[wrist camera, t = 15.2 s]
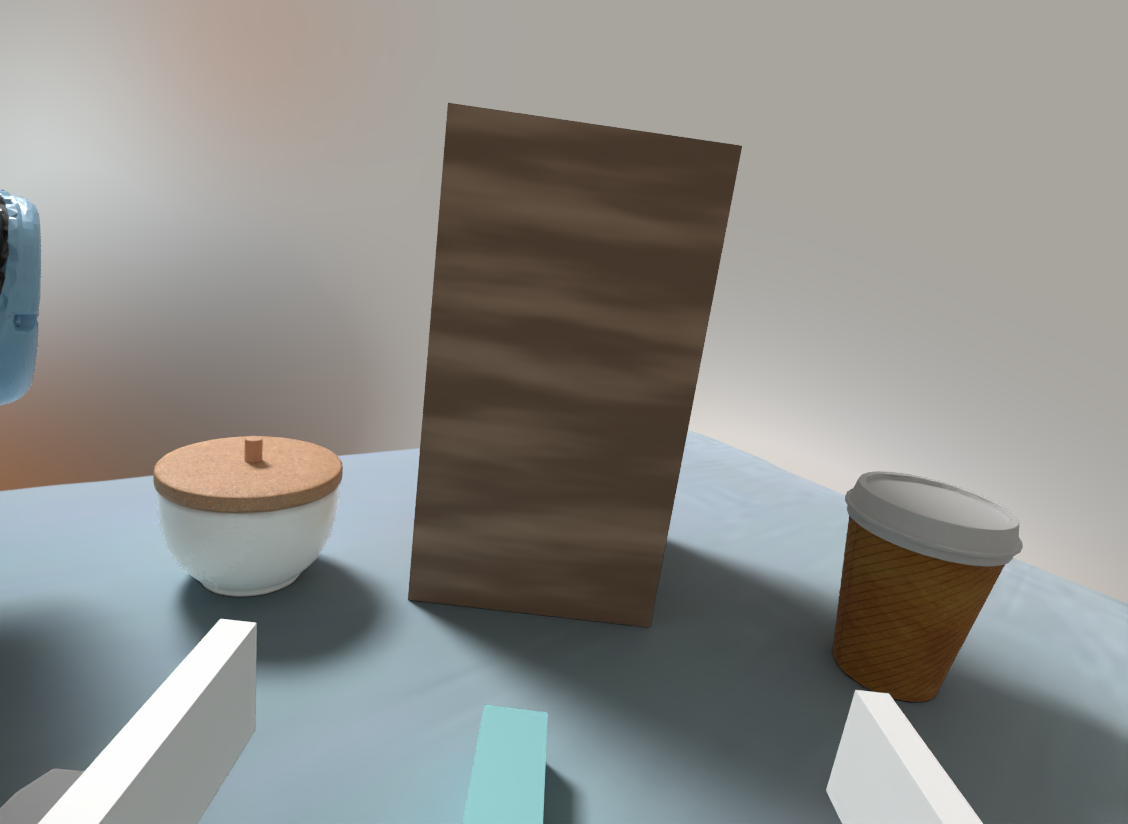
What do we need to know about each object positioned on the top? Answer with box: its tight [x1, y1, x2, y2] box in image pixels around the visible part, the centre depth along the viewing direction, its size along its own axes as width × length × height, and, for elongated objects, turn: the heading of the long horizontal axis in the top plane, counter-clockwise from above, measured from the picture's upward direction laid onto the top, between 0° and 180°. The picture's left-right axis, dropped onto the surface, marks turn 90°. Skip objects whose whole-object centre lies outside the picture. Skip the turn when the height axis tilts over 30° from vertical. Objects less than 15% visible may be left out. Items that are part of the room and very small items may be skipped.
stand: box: [408, 103, 742, 627], centre depth 46 cm, size 16×16×30 cm
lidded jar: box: [154, 436, 343, 597], centre depth 42 cm, size 11×11×9 cm
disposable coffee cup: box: [832, 472, 1022, 702], centre depth 40 cm, size 10×10×12 cm
